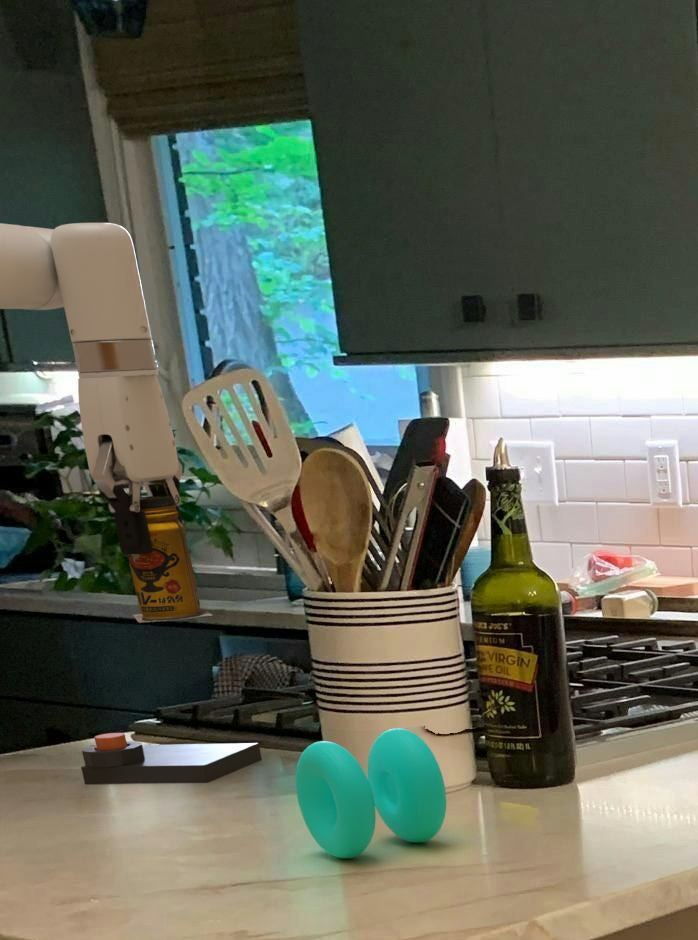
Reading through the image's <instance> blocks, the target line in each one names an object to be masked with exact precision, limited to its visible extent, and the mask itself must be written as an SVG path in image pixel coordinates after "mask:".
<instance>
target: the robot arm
mask: <svg viewBox="0 0 698 940" xmlns="http://www.w3.org/2000/svg"><path fill="white" fill-rule="evenodd" d="M60 308H61V309H64V313H65V318H66V322H67V326H68V331H69V336H70V342H71V343H72V344H71V345H72V351H73V354H74V359H75V364H76V369H77V372H78V373H77V374H78V379H77V387H78V389H77V391H78V406H79V407H78V408H79V415H80V423H81V430H82V436H83V443H84V449H85V450H84V451H85V454H86V455H85V456H86V460H87V465H88V470H89V474H90V476H91V478H92V480H93V482H94V484H95V485H96V486H97V487H98V489H99V490H100V492H101V494H102V495H103V497H104V499H105V500H106V501H107V503H108V510H109V511H110V513H111V514H113V518H114V519H113V520H114V523H115V529H116V531H117V532H116V533H117V538H118V542H119V547H120V551H121V553H122V554H123V555H128V554H148V553H151V552H152V551H153V549H152V544H151V539H150V534H149V529H148V524H147V519H146V514H145V512H139V511H140V497H141V483H142V484H143V487H144V489H145V491H146V494H147V497H150V496H172V497H173V498H174V500H175V502H176V510H177V512H178V520H179V521H180V523H181V524H182V525H183V526H184V524H183V519H182V514H181V510H180V506H181V503H182V502H181V501H182V499H181V497H180V494H179V493H180V489H181V478H182V474H183V465H182V463H181V462H180V460H179V458H178V452H177V446H176V441H175V436H174V431H173V427H172V424H171V419H170V417H169V412H168V408H167V405H166V402H165V401H166V400H165V397H164V394H163V391H162V387H161V385H160V382H159V379H158V376H159V375H160V373H159V368H158V363H157V359H156V353H155V348H154V343H153V340H152V339H153V338H152V334H151V327H150V323H149V317H148V312H147V307H146V301H145V297H144V292H143V286H142V282H141V276H140V273H139V267H138V261H137V257H136V252H135V246H134V243H133V238H132V236H131V234H130V233H129V232H128V230H127V229H126V228H124V226H122V225H119V224H117V223H110V222H76V223H65V224H60V225H59V226H56V227H55V228H45V227H37V226H27V225H26V226H25V225H20V224H9V223H1V222H0V310H26V311H31V310H32V311H49V310H50V311H51V310H56V309H60ZM156 485H158V486H156ZM125 489H128V493H127V492H126V490H125Z"/></svg>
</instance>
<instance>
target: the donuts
mask: <svg viewBox="0 0 698 940" xmlns="http://www.w3.org/2000/svg"><path fill="white" fill-rule="evenodd" d="M368 753H369V754H368V757H367V767H366V768H367V771H366V772H367V774H366V773H365V771H364V769H363V767H362V765H361V764H360V763H359V761H358V760H357V759H356V757H354V755H353V754H352V753H351V752H350V751H348V749H346V748H345V747H344V746H341V745H340V744H338V743H336V742H334V741H333V742H332V741H327V740H320V741H316V742H313V743H312V744H309V745H308V746H307V747H306V748H305V749H304V750H303V751H302V753H301V754H300V756H299V758H298V761H297V765H296V768H295V769H296V771H295V790H296V796H297V797H296V798H297V802H298V806H299V810H300V813H301V815H302V819H303V820H304V823H305V826H306V828H307V829H308V831H309V833H310V836H311V837H312V838H313V839H314V841H315V842H316V843H317V844H318V846H319V847H320V848H322V850H324V851H325V852H327V854H329V855H331V856H334V857H335V858H339V859H352V858H355V857H357V856H359V855H361V854H362V853H363V852H365V850H366V849H367V848H368V846H369V845H370V843H371V841H372V839H373V836H374V834H375V833H374V832H375V828H376V819H377V818H376V811H377V814H378V815H379V817H380V818H381V820H382V822H383V823H384V825H385V826H386V827H387V828H388V829H389V830H390V831H391V832H392V833H393V834H395V835H396V836H397V837H398V838H400V839H402V840H404V841H407V842H410V843H414V844H417V843H418V844H419V843H424V842H428V841H429V840H431V839H433V838H434V837H435V836H436V835H437V834H438V833H439V832H440V830H441V828H442V826H443V824H444V821H445V818H446V813H447V793H446V786H445V781H444V777H443V773H442V771H441V768H440V765H439V763H438V761H437V758H436V756H435V755H434V752H433V751H432V750H431V748H430V747H429V745H428V744H427V743H426V742H425V741H424V740H423V739H422V738H421V737H420V736H419V735H418V734H416V733H415V732H413V731H412V730H408V729H407V728H406V729H405V728H401V727H395V728H390V729H387V730H385V731H383V732H382V733H381V734H379V735H378V736H377V737H376V739H375V740H374V741H373V743H372V745H371V748H370V751H369V752H368Z"/></svg>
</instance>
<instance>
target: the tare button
mask: <svg viewBox="0 0 698 940" xmlns="http://www.w3.org/2000/svg"><path fill="white" fill-rule="evenodd" d="M126 741H127V737H126V734H125V733H123V732H108V733H101V734H98V735H94V742H95V745H96V747H97V750H111V749H119V748H124V747H127V742H126Z"/></svg>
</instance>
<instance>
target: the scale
mask: <svg viewBox="0 0 698 940" xmlns="http://www.w3.org/2000/svg"><path fill="white" fill-rule="evenodd" d="M126 742H127V747H124V748H119V749H111V750H97V747H96V744H92V745H89V746H86V747H83V748H82V750H81V753H82V759H83V762H84V765H83V766H80V768H81V773H82V778H83V782H84V785H131V784H132V785H135V784H136V785H137V784H139V785H141V784H145V785H146V784H147V785H148V784H209V783H210V782H214V781H216V780H218V779H220V778H222V777H225V776H227V775H229V774H231V773H235V772H237V771H239V770H241V769H244V768H246V767H248V766H250V765H253V764H255V763H258V762H260V761H262V753H261V749H260V748H261V747H260V743H259V742H247V743H246V742H240V743H239V742H237V743H235V742H234V743H181V744H180V743H179V744H178V743H177V744H176V743H175V744H174V743H173V744H172V743H171V744H170V743H169V744H143V743H142V742H141V741H135V740H131V741H130V740H129V741H127V740H126Z"/></svg>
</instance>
